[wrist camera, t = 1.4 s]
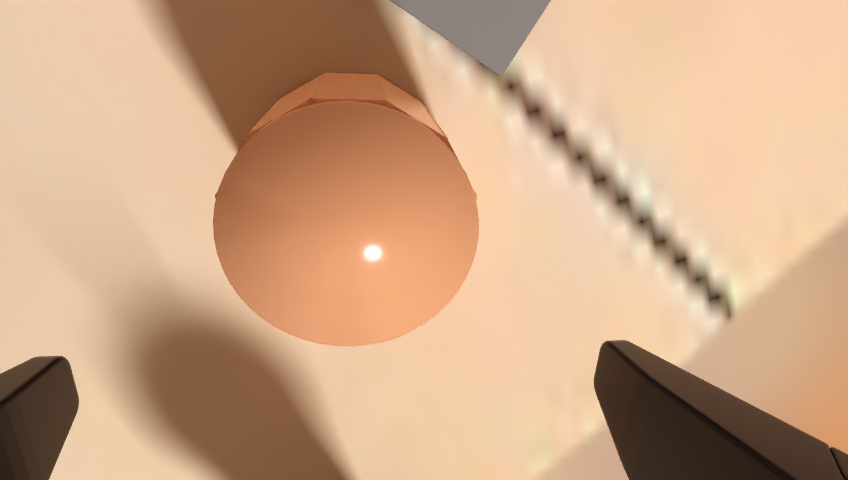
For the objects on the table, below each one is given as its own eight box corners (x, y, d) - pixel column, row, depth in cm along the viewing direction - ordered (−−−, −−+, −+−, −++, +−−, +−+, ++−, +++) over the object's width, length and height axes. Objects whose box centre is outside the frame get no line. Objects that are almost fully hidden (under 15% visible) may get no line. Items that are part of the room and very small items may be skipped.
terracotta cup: (226, 199, 21) (168, 282, 14) (313, 32, 19) (289, 43, 12) (384, 277, 23) (394, 380, 16) (477, 136, 21) (529, 191, 14)
